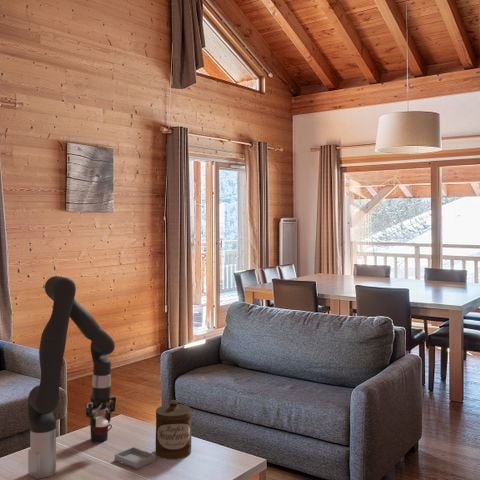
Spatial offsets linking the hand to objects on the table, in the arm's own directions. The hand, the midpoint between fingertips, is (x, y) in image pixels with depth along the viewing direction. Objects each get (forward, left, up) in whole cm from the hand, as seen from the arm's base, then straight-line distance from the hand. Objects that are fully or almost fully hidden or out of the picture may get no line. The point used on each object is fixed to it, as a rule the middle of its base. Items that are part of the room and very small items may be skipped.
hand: (100, 424), depth 235 cm
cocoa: (0, 0, -4) cm, 4 cm away
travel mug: (+9, +13, -13) cm, 20 cm away
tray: (+5, -16, -12) cm, 21 cm away
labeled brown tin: (+21, -22, -13) cm, 32 cm away
